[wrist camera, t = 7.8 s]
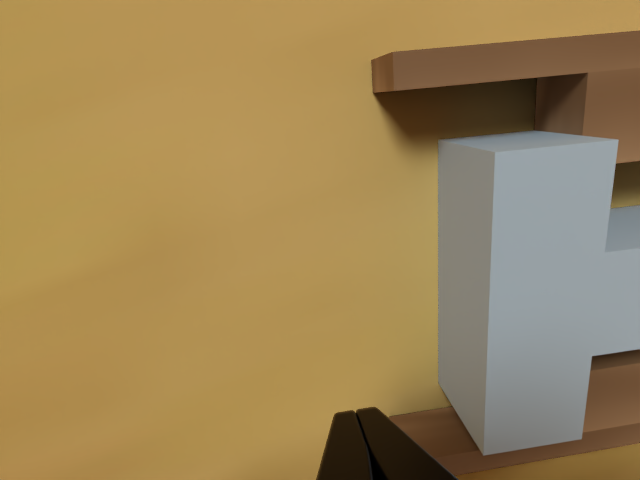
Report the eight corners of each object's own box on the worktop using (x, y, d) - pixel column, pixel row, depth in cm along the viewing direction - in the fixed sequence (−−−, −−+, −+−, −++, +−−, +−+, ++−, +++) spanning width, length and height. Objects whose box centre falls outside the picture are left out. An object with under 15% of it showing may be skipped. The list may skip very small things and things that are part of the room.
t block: (668, 348, 19) (766, 408, 16) (438, 382, 18) (483, 455, 15) (712, 112, 16) (847, 116, 13) (438, 139, 15) (495, 152, 12)
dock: (703, 383, 20) (761, 421, 18) (390, 435, 19) (408, 483, 17) (778, 24, 16) (870, 10, 13) (371, 60, 14) (392, 51, 12)
